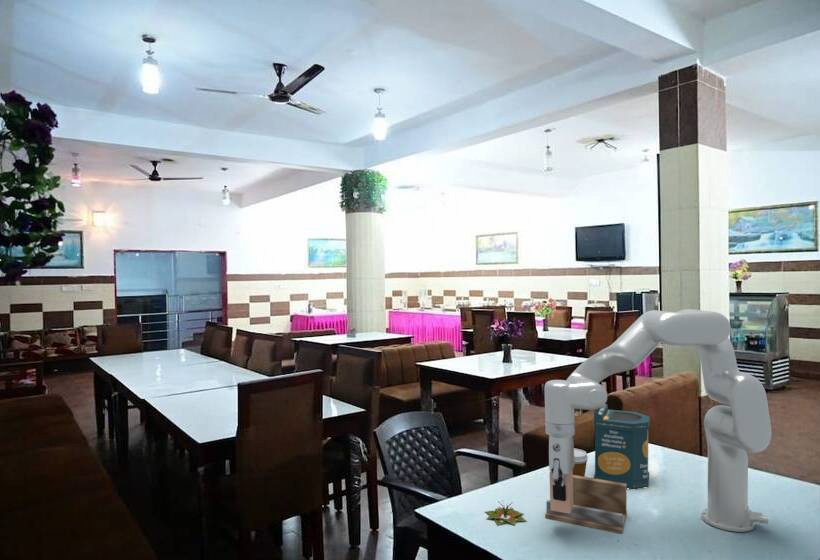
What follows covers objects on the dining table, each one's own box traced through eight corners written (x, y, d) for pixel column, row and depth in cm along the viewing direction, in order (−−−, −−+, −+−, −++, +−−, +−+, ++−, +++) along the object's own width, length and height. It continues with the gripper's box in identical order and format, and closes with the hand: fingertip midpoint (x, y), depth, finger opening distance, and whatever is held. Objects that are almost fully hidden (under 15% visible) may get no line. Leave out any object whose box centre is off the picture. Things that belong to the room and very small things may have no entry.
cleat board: (626, 514, 153) (626, 482, 153) (621, 533, 141) (621, 499, 141) (555, 500, 162) (555, 470, 162) (545, 517, 151) (545, 485, 150)
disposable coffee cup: (582, 498, 163) (582, 459, 163) (551, 491, 169) (552, 453, 169) (592, 489, 171) (592, 451, 171) (563, 482, 177) (563, 445, 177)
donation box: (599, 467, 190) (599, 388, 190) (649, 475, 183) (650, 392, 183) (593, 483, 175) (593, 397, 175) (647, 492, 168) (648, 402, 168)
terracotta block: (573, 505, 144) (572, 468, 144) (569, 513, 140) (568, 475, 140) (554, 502, 147) (553, 466, 147) (550, 510, 142) (549, 472, 142)
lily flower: (494, 531, 144) (494, 513, 144) (477, 512, 155) (477, 496, 155) (535, 525, 147) (535, 508, 147) (515, 507, 159) (515, 491, 159)
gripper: (568, 438, 134) (570, 511, 134) (580, 420, 149) (582, 486, 149) (538, 435, 137) (539, 506, 137) (552, 418, 152) (554, 482, 153)
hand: (561, 495), depth 143 cm, fingers closed on terracotta block, 5 cm apart
